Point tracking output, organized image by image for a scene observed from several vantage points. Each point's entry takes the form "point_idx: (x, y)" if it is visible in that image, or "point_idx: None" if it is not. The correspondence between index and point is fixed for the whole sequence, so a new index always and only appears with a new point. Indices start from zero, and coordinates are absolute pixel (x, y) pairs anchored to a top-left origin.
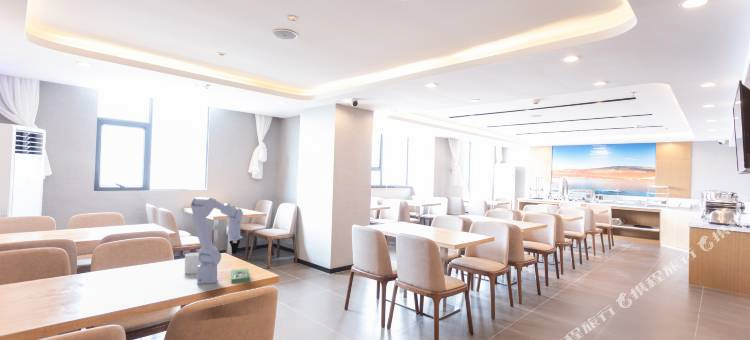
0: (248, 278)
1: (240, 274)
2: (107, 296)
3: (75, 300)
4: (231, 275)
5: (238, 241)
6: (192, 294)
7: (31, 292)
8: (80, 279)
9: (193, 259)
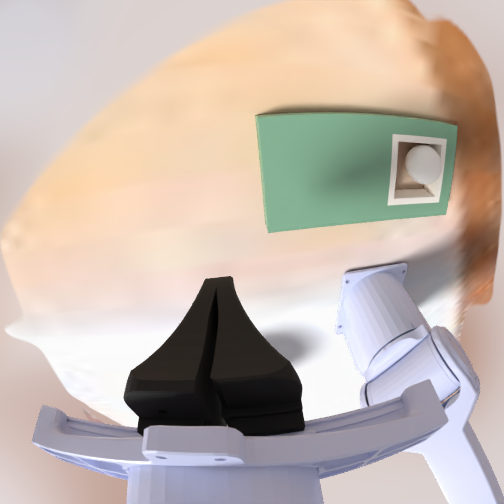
0: (454, 132)
1: (438, 176)
2: None
3: None
4: (391, 218)
5: (263, 394)
6: (460, 302)
7: None
8: None
9: None
